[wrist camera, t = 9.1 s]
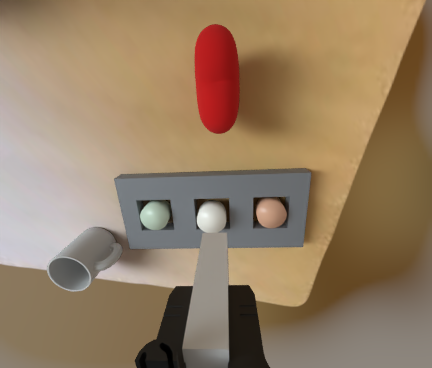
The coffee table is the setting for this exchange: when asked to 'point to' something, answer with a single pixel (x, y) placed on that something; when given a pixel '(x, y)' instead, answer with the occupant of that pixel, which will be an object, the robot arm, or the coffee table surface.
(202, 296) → the robot arm
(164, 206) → the sage button
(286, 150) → the coffee table surface
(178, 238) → the panel
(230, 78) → the heart
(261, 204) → the peach button
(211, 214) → the cream button
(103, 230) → the cup
